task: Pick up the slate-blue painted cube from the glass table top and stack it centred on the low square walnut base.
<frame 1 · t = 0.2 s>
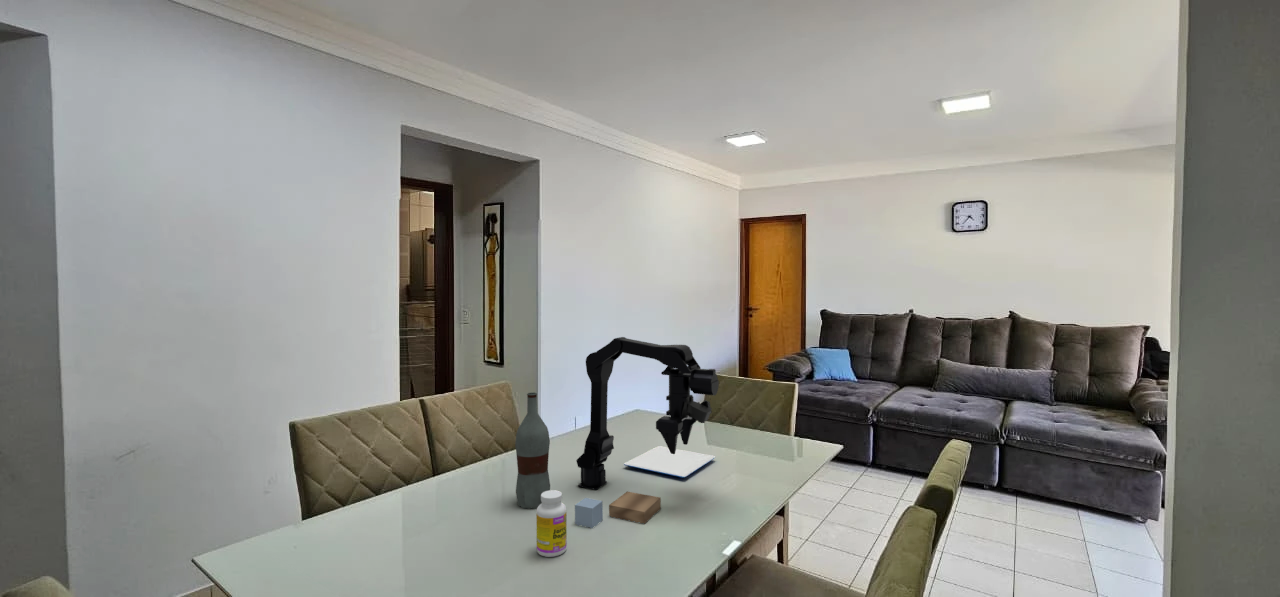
hand: (679, 449, 149), 14 cm above the table, tool pointing down, fingers open, 9 cm apart
supplement bottle: (551, 551, 123), on the table
grey bottle: (533, 503, 149), on the table
base: (635, 512, 143), on the table
cube: (588, 522, 137), on the table
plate: (670, 466, 180), on the table
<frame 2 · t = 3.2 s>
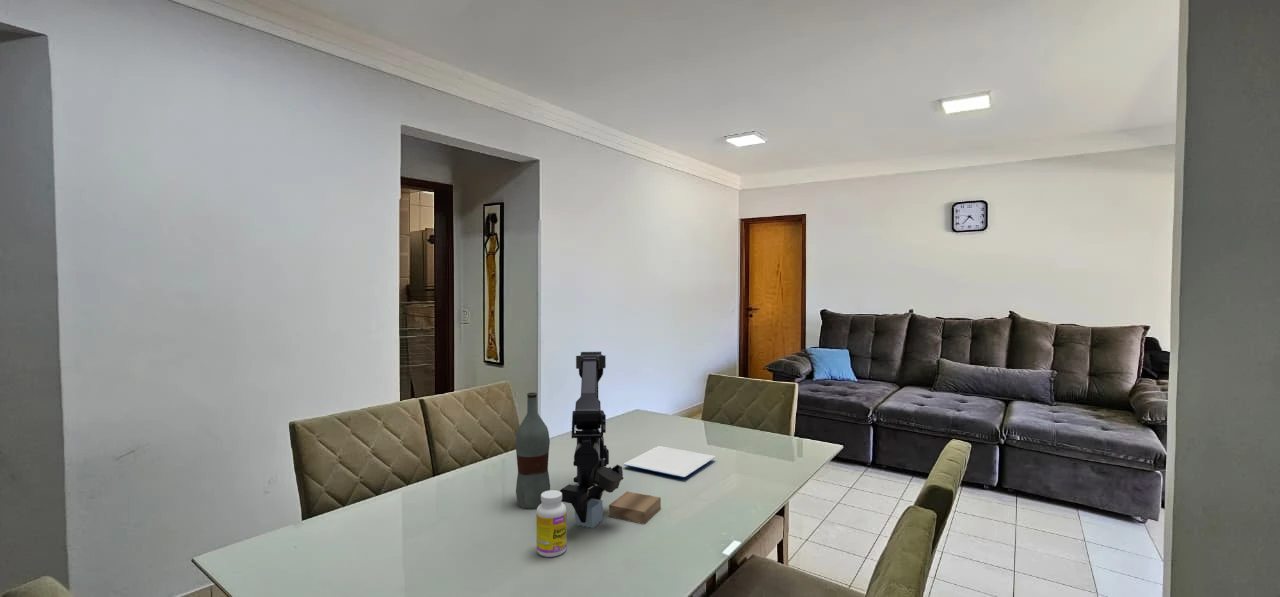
hand: (588, 518, 137), 1 cm above the table, tool pointing down, fingers closed on cube, 5 cm apart
cube: (588, 522, 137), on the table, touching gripper
everything else where it was.
when the fingers open (5 cm above the table, at t = 6.8 s): cube stays where it is, resting on base.
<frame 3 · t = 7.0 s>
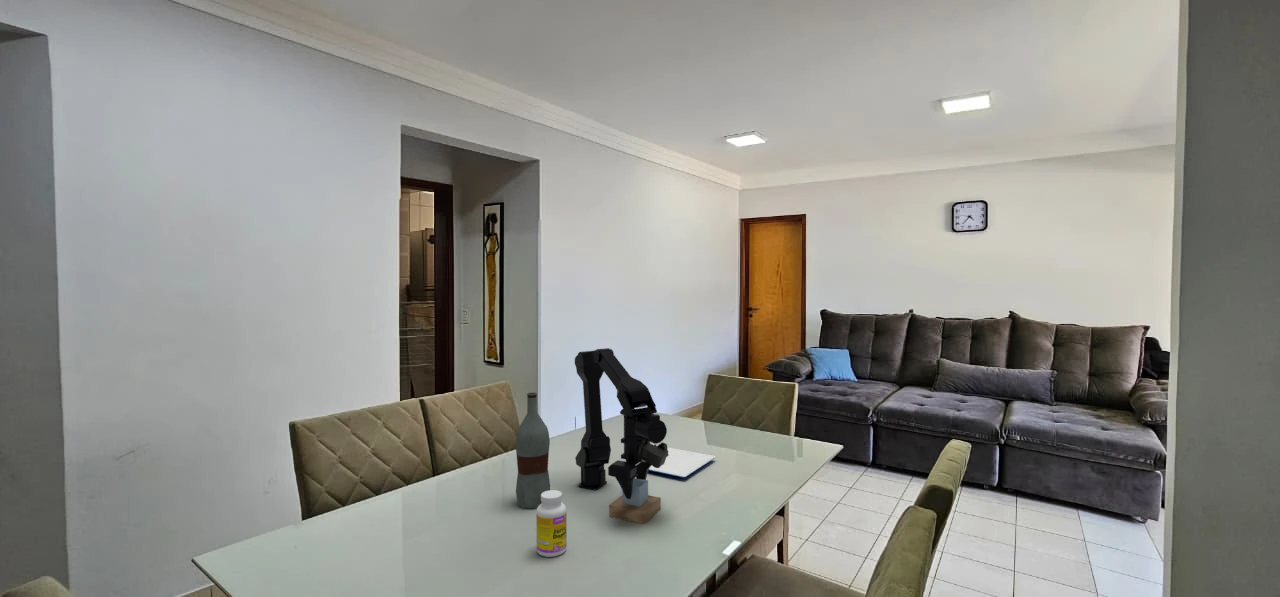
hand: (635, 493, 143), 5 cm above the table, tool pointing down, fingers open, 7 cm apart
cube: (635, 501, 143), point 3 cm above the table, touching base
everything else where it was.
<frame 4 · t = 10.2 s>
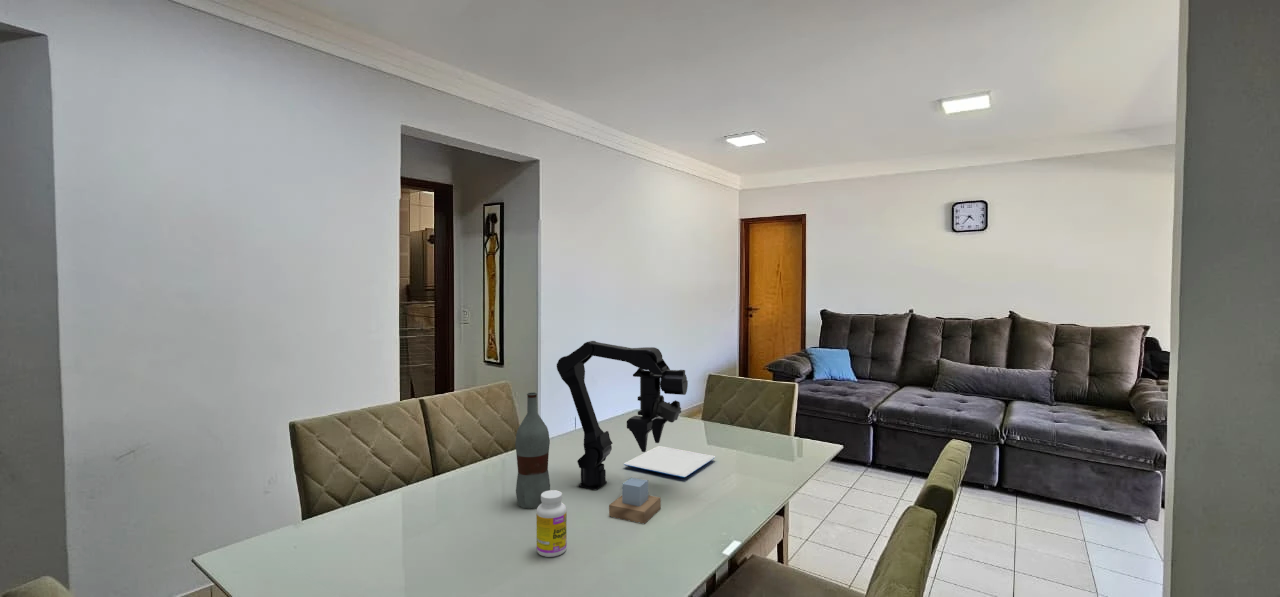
hand: (650, 447, 156), 13 cm above the table, tool pointing down, fingers open, 9 cm apart
nothing on the table moved.
at the end: cube inside the target area on the base (0.0 cm from its centre), point 3.0 cm above the base's base; cube tilted 0°; the gripper is holding nothing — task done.
